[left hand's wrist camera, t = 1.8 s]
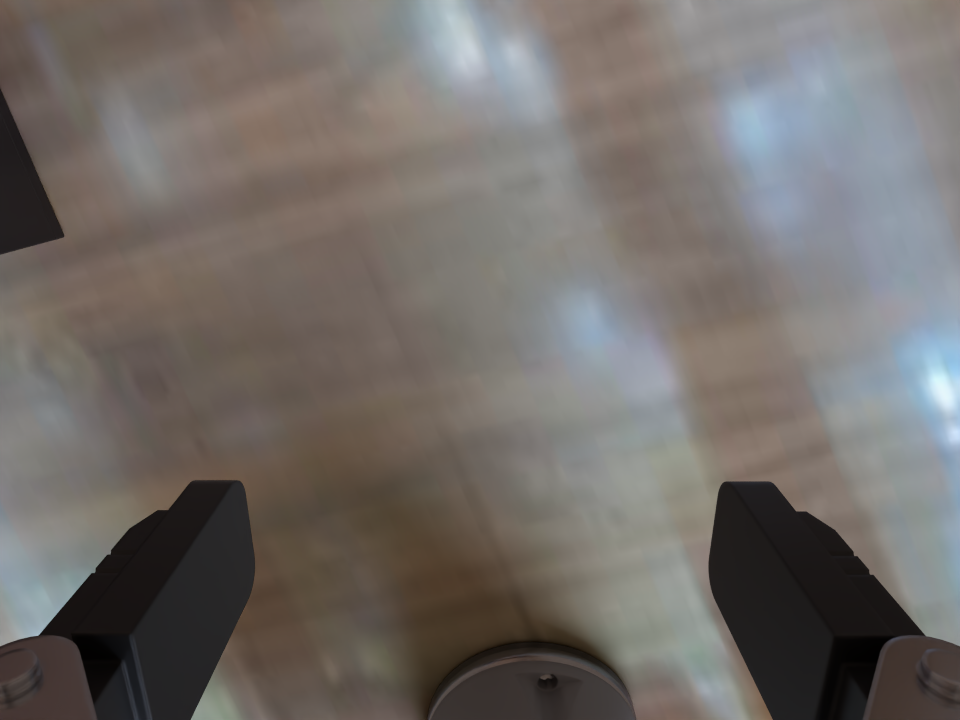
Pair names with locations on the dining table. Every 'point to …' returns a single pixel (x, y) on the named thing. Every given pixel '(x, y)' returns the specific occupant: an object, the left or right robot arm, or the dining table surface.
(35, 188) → the chest
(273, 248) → the dining table surface
